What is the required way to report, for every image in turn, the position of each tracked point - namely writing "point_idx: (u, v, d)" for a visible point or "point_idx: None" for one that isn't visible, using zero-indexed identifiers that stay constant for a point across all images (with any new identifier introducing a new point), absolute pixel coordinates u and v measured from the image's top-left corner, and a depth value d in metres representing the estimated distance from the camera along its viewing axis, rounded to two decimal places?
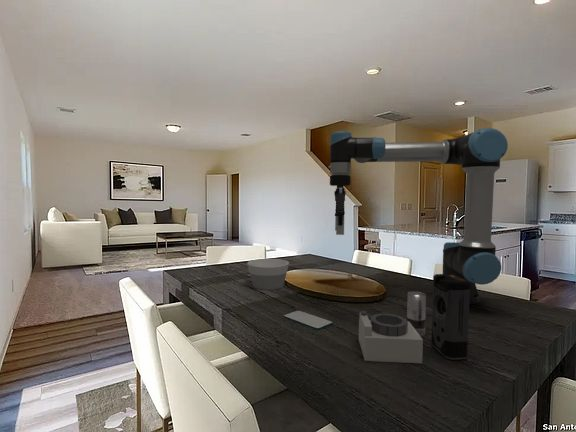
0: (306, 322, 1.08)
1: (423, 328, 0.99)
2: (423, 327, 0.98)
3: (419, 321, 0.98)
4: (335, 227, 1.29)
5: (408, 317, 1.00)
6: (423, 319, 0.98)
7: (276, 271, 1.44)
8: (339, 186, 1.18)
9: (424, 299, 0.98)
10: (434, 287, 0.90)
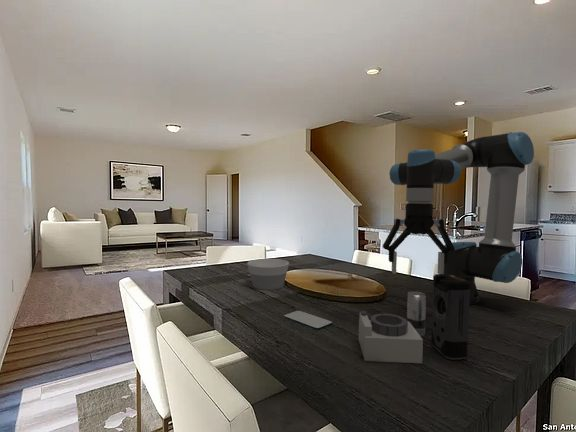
0: (306, 322, 1.08)
1: (423, 328, 0.99)
2: (423, 327, 0.98)
3: (419, 321, 0.98)
4: None
5: (408, 317, 1.00)
6: (423, 319, 0.98)
7: (276, 271, 1.44)
8: (405, 217, 0.99)
9: (424, 299, 0.98)
10: (434, 287, 0.90)
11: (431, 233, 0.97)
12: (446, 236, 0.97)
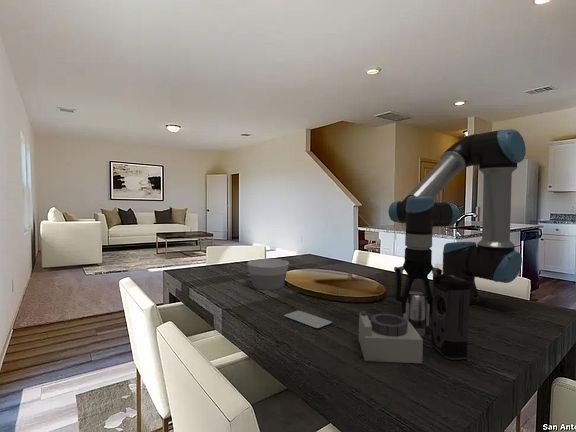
0: (306, 321, 1.08)
1: (423, 328, 0.99)
2: (423, 327, 0.98)
3: (419, 321, 0.98)
4: None
5: None
6: (423, 319, 0.98)
7: (276, 271, 1.44)
8: None
9: (424, 299, 0.98)
10: (434, 287, 0.90)
11: (426, 280, 0.98)
12: None
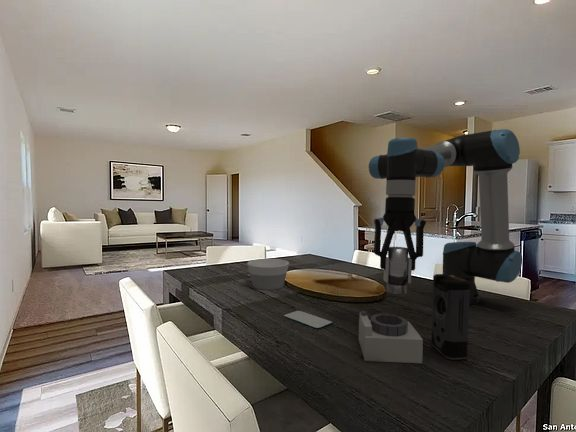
0: (306, 321, 1.08)
1: (404, 285, 0.89)
2: (404, 284, 0.89)
3: (399, 277, 0.88)
4: None
5: (388, 274, 0.90)
6: (404, 275, 0.89)
7: (276, 271, 1.44)
8: (385, 212, 0.91)
9: (406, 253, 0.88)
10: (434, 287, 0.90)
11: (408, 232, 0.88)
12: (420, 239, 0.89)
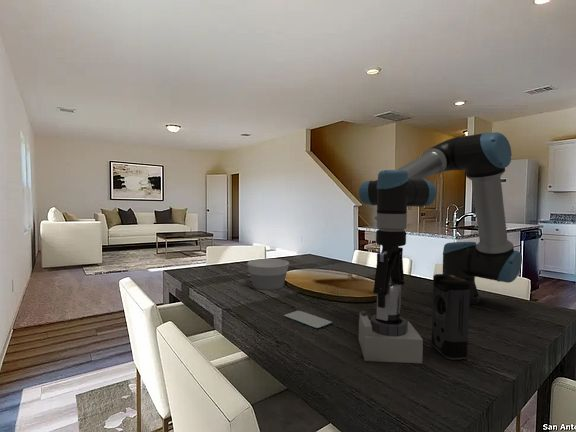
0: (306, 321, 1.08)
1: None
2: None
3: (399, 313, 0.87)
4: None
5: (388, 314, 0.86)
6: None
7: (276, 271, 1.44)
8: (384, 247, 0.84)
9: None
10: (434, 287, 0.90)
11: (399, 263, 0.89)
12: (402, 265, 0.92)
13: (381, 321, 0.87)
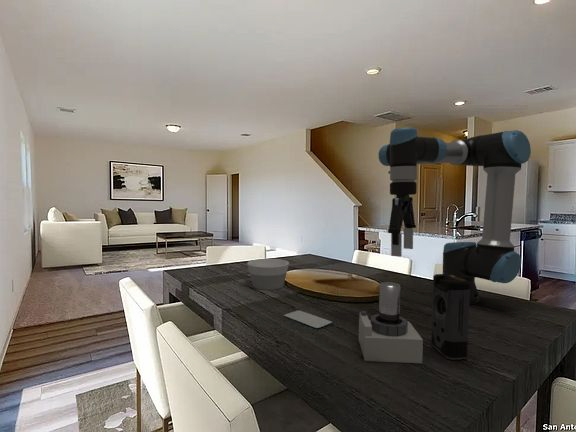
0: (306, 321, 1.08)
1: None
2: None
3: (399, 313, 0.87)
4: None
5: (389, 314, 0.86)
6: None
7: (276, 271, 1.44)
8: (398, 196, 0.96)
9: None
10: (434, 287, 0.90)
11: (411, 210, 1.01)
12: (412, 212, 1.05)
13: (381, 321, 0.87)
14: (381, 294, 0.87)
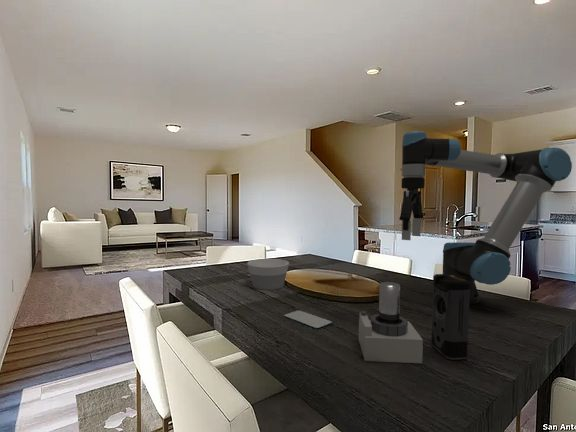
0: (306, 321, 1.08)
1: None
2: None
3: (399, 313, 0.87)
4: (412, 232, 1.23)
5: (388, 314, 0.86)
6: None
7: (276, 271, 1.44)
8: (408, 189, 1.13)
9: None
10: (434, 287, 0.90)
11: (419, 202, 1.18)
12: (421, 204, 1.22)
13: (381, 321, 0.87)
14: (381, 294, 0.87)
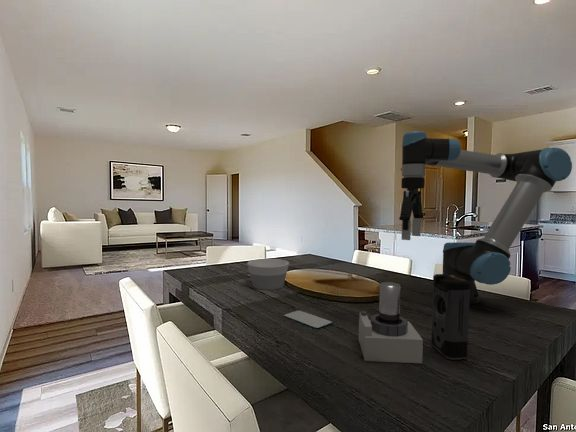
0: (306, 321, 1.08)
1: None
2: None
3: (399, 314, 0.87)
4: (412, 232, 1.23)
5: (389, 314, 0.86)
6: None
7: (276, 271, 1.44)
8: (408, 189, 1.13)
9: None
10: (434, 287, 0.90)
11: (419, 202, 1.18)
12: (421, 204, 1.22)
13: (381, 321, 0.87)
14: (381, 294, 0.87)
